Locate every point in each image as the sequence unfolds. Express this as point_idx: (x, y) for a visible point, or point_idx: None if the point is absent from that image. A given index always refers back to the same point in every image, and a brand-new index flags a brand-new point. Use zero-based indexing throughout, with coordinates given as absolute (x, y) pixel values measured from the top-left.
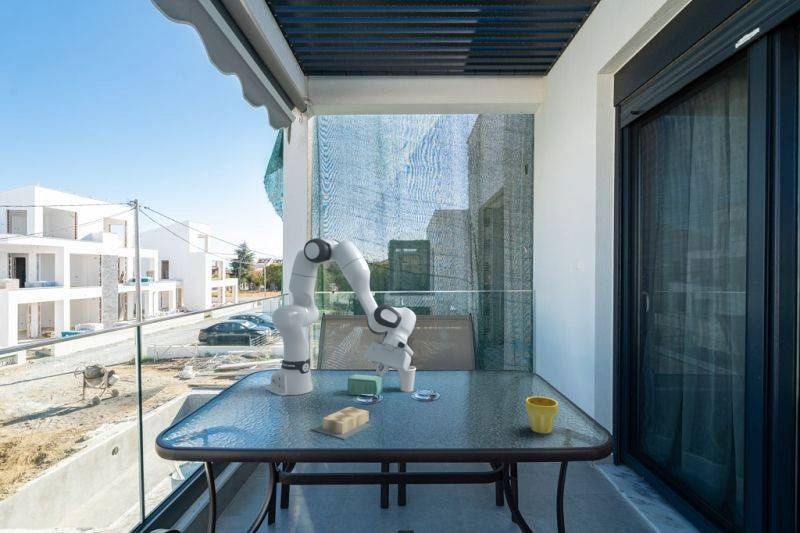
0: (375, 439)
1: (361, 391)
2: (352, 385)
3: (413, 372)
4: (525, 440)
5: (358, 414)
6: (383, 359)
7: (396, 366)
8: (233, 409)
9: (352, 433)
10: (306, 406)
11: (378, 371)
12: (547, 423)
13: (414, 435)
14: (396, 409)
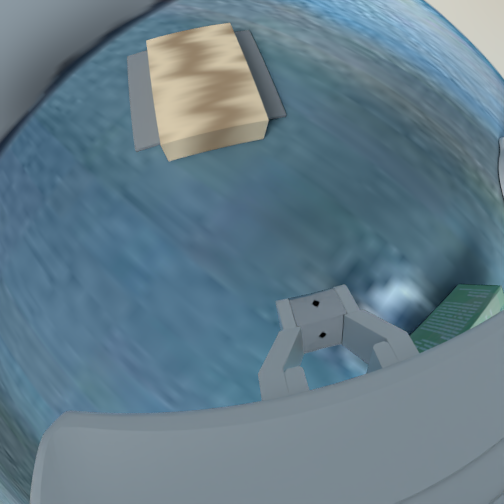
0: (67, 116)
1: (435, 321)
2: (471, 296)
3: None
4: None
5: (163, 99)
6: (368, 423)
7: (105, 422)
8: (449, 43)
9: (132, 79)
10: (425, 119)
11: (325, 310)
12: None
13: (12, 217)
14: (203, 340)
